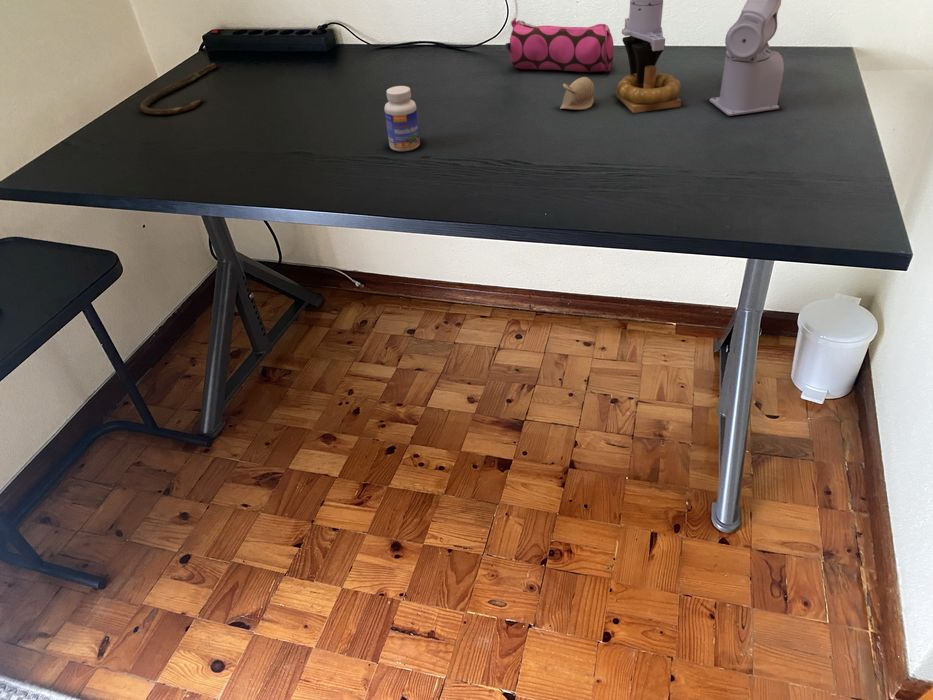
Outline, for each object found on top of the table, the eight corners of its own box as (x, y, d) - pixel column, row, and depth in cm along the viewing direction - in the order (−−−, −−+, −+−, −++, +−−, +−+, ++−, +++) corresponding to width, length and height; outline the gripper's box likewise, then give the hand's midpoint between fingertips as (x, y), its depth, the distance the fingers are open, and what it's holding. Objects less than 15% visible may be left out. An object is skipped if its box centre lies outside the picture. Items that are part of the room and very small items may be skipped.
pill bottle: (396, 155, 124) (389, 98, 118) (384, 144, 128) (376, 88, 122) (425, 147, 126) (419, 90, 120) (413, 137, 130) (406, 81, 123)
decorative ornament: (600, 103, 136) (602, 74, 133) (568, 116, 132) (569, 86, 129) (584, 98, 138) (585, 69, 135) (553, 111, 135) (553, 81, 131)
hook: (135, 119, 146) (132, 112, 145) (162, 73, 169) (160, 66, 168) (198, 113, 147) (196, 105, 146) (217, 67, 170) (215, 61, 169)
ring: (664, 81, 139) (665, 67, 138) (689, 100, 131) (691, 86, 129) (608, 89, 138) (609, 75, 136) (630, 109, 129) (631, 94, 128)
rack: (661, 90, 139) (664, 56, 135) (680, 106, 132) (684, 71, 128) (616, 96, 138) (618, 62, 134) (633, 113, 131) (635, 78, 127)
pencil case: (505, 76, 151) (503, 25, 145) (516, 61, 158) (515, 11, 152) (608, 79, 146) (611, 26, 139) (615, 63, 153) (618, 12, 146)
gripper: (611, -6, 134) (607, 70, 142) (639, 14, 122) (633, 95, 131) (647, -10, 134) (641, 65, 143) (679, 9, 123) (671, 90, 131)
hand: (640, 79), depth 137 cm, fingers closed on ring, 3 cm apart
